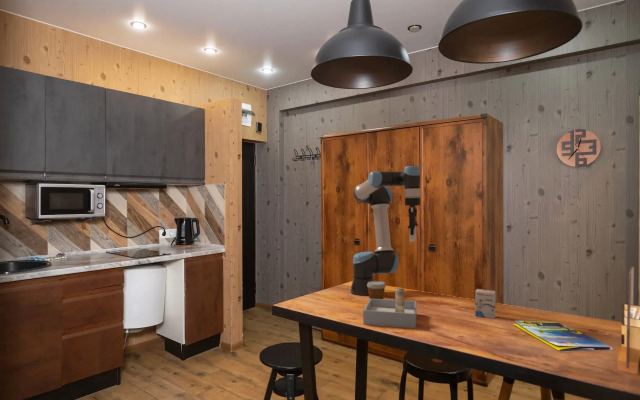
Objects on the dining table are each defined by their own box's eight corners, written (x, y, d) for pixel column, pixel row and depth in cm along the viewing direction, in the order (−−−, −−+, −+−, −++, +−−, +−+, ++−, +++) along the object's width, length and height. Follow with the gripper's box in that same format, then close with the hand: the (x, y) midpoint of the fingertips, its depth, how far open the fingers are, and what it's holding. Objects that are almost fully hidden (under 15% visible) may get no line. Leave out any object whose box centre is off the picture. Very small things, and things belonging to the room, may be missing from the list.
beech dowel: (395, 317, 175) (395, 287, 175) (404, 318, 174) (404, 288, 174) (395, 320, 171) (394, 289, 171) (404, 321, 170) (403, 290, 170)
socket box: (370, 310, 186) (369, 298, 186) (416, 313, 180) (416, 301, 180) (363, 324, 167) (363, 310, 167) (415, 328, 161) (415, 314, 161)
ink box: (474, 316, 176) (474, 291, 176) (476, 313, 180) (475, 288, 180) (495, 319, 172) (495, 293, 172) (495, 315, 176) (495, 290, 176)
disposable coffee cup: (385, 303, 199) (384, 280, 198) (386, 309, 189) (386, 285, 189) (366, 303, 199) (366, 280, 199) (367, 308, 190) (367, 284, 190)
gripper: (406, 197, 200) (406, 237, 201) (402, 197, 176) (403, 243, 177) (421, 197, 198) (421, 237, 199) (419, 197, 174) (420, 243, 175)
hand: (412, 240), depth 188 cm, fingers open, 13 cm apart
